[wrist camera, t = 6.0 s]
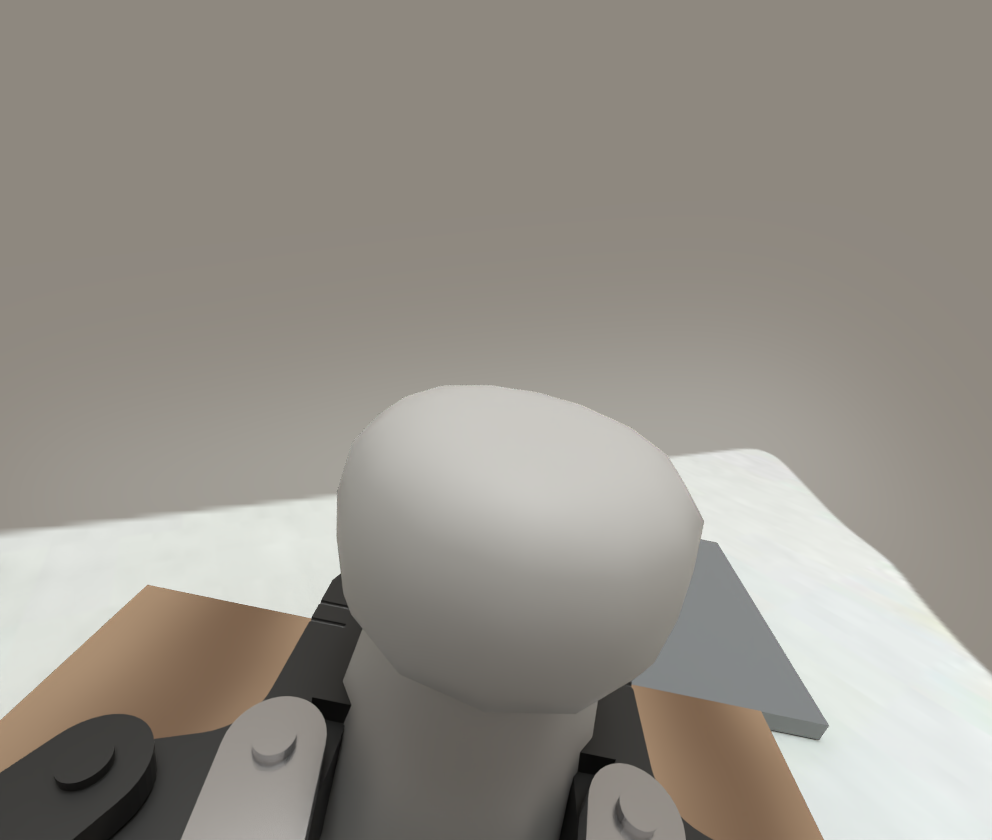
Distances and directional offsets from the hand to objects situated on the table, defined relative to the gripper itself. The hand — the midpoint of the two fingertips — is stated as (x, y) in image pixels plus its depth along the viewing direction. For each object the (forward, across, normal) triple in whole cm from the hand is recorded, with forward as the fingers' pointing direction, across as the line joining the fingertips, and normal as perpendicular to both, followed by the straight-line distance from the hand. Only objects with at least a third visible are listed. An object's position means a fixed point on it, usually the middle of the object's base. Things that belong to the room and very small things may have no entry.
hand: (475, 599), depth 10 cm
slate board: (+10, -8, +8) cm, 15 cm away
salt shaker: (-3, 0, +8) cm, 8 cm away
